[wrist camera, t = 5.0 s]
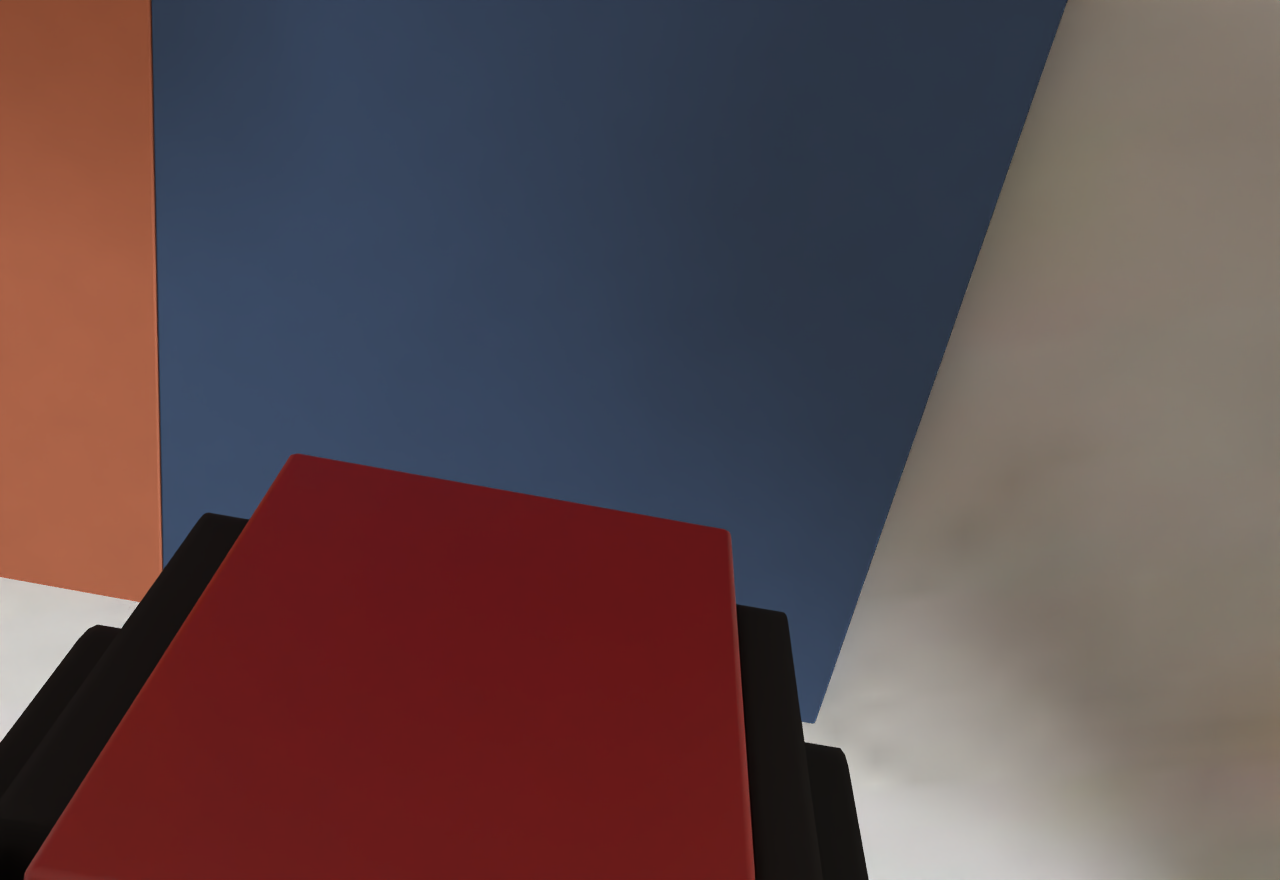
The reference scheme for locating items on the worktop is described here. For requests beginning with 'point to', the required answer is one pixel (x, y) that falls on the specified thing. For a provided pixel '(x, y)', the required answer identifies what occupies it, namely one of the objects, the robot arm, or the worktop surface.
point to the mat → (493, 263)
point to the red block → (432, 699)
